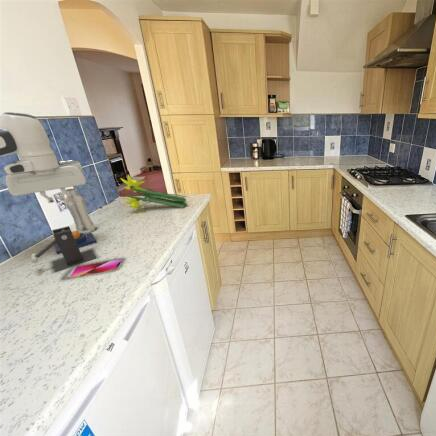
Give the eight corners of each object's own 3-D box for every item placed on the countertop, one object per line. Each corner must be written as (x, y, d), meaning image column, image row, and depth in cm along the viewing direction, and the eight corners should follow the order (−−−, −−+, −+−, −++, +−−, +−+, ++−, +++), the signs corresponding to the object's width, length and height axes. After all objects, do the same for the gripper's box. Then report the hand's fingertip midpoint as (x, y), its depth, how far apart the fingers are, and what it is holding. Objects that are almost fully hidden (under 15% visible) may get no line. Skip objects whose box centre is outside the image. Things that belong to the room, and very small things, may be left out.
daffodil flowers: (179, 215, 127) (105, 202, 120) (185, 219, 141) (119, 207, 134) (186, 184, 130) (114, 170, 123) (191, 191, 144) (127, 179, 138)
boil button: (67, 242, 93) (64, 237, 92) (65, 238, 96) (63, 233, 95) (81, 237, 96) (79, 233, 95) (79, 234, 98) (78, 230, 98)
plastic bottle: (87, 236, 105) (69, 192, 97) (74, 235, 106) (55, 191, 98) (100, 230, 110) (84, 187, 102) (87, 229, 111) (70, 187, 103)
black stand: (56, 274, 80) (39, 240, 74) (54, 264, 85) (38, 231, 80) (97, 260, 87) (84, 228, 82) (92, 251, 92) (80, 221, 87)
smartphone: (73, 266, 82) (124, 258, 86) (75, 269, 82) (124, 260, 86) (62, 279, 75) (116, 269, 79) (63, 282, 76) (117, 272, 79)
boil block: (58, 256, 90) (54, 247, 88) (56, 247, 96) (52, 238, 95) (97, 244, 98) (94, 235, 96) (93, 237, 104) (89, 228, 103)
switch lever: (37, 264, 77) (28, 260, 75) (36, 259, 80) (28, 255, 79) (71, 236, 81) (64, 231, 80) (69, 231, 85) (62, 227, 83)
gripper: (77, 158, 93) (90, 192, 98) (-2, 167, 79) (18, 206, 85) (80, 160, 89) (93, 196, 94) (-3, 169, 75) (18, 210, 81)
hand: (57, 201), depth 89 cm, fingers closed
